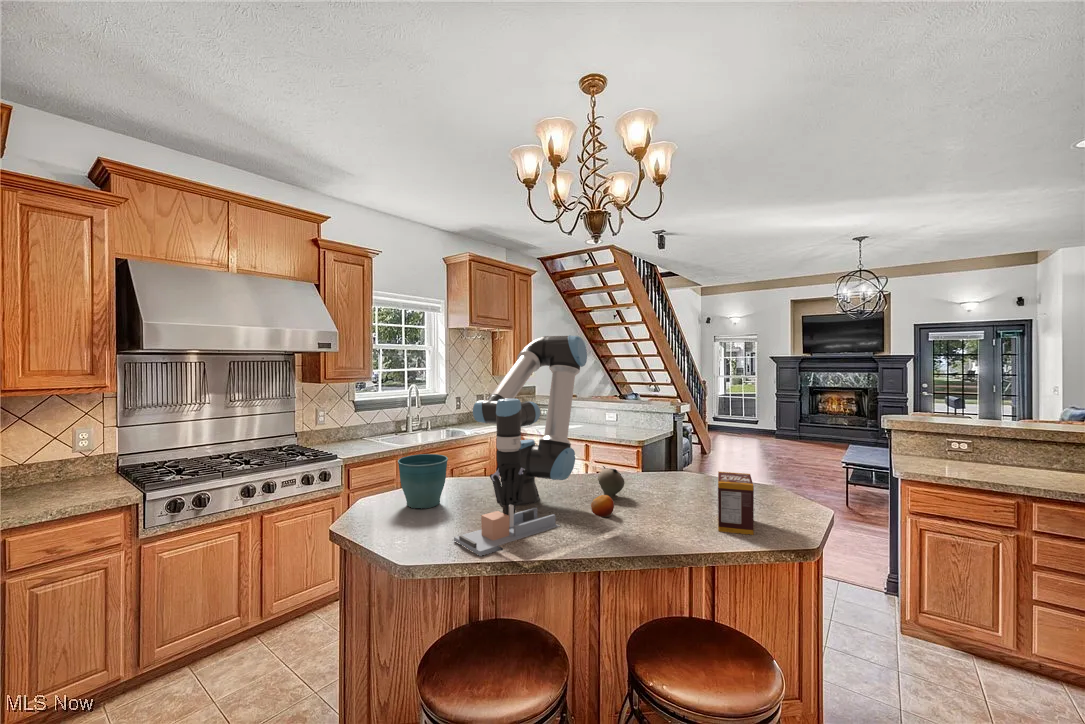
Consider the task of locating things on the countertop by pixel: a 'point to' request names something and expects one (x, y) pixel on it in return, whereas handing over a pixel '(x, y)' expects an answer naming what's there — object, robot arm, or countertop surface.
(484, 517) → the block
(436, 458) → the flower pot
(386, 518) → the countertop surface
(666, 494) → the countertop surface
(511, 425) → the robot arm
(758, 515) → the countertop surface
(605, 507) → the fruit
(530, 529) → the chute
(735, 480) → the supplement box
